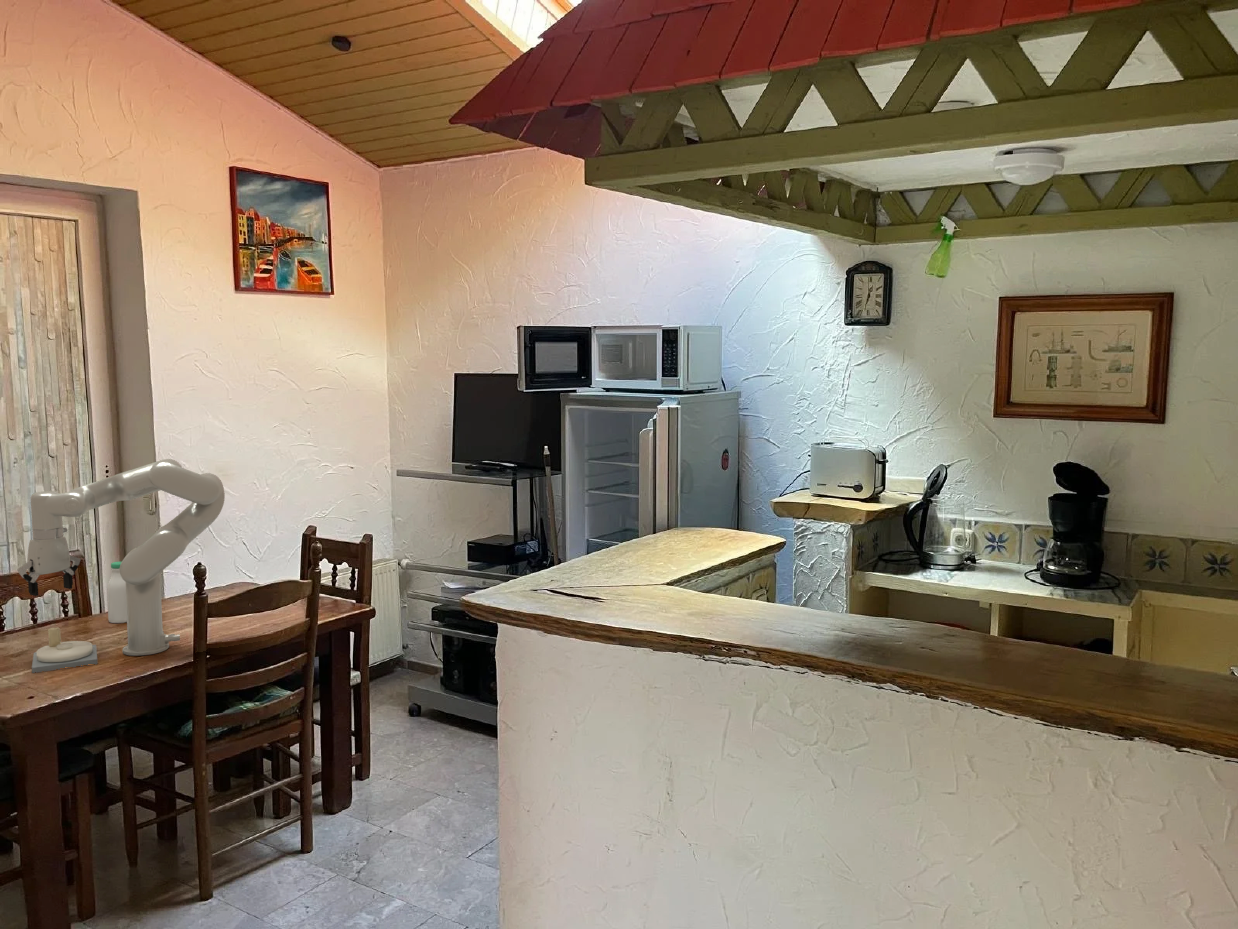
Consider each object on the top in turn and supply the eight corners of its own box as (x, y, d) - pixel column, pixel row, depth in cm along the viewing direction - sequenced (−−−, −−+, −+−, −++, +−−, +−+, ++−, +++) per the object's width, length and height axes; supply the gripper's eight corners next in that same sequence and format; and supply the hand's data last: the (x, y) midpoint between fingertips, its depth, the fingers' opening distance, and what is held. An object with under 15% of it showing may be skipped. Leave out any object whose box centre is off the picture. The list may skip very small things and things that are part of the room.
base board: (96, 649, 279) (96, 644, 279) (97, 664, 265) (97, 659, 265) (34, 657, 271) (33, 652, 271) (32, 673, 257) (31, 667, 257)
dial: (92, 645, 277) (91, 622, 277) (93, 657, 265) (91, 634, 265) (37, 652, 270) (36, 628, 270) (36, 665, 258) (34, 641, 258)
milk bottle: (120, 624, 306) (117, 565, 303) (103, 622, 308) (100, 564, 306) (139, 618, 313) (136, 561, 311) (122, 616, 315) (119, 559, 313)
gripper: (70, 528, 276) (73, 584, 278) (9, 537, 261) (12, 596, 263) (85, 530, 272) (88, 587, 274) (23, 540, 257) (27, 599, 259)
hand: (51, 591), depth 268 cm, fingers open, 9 cm apart
